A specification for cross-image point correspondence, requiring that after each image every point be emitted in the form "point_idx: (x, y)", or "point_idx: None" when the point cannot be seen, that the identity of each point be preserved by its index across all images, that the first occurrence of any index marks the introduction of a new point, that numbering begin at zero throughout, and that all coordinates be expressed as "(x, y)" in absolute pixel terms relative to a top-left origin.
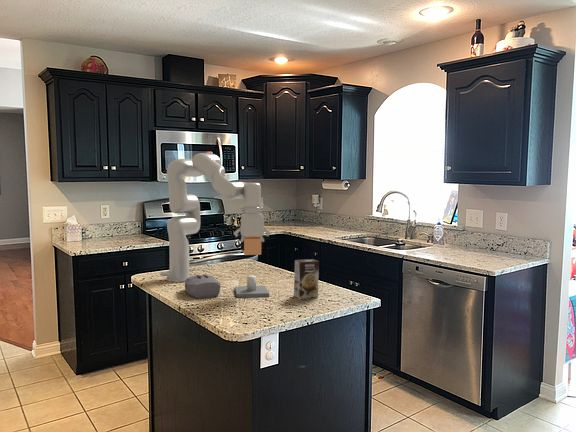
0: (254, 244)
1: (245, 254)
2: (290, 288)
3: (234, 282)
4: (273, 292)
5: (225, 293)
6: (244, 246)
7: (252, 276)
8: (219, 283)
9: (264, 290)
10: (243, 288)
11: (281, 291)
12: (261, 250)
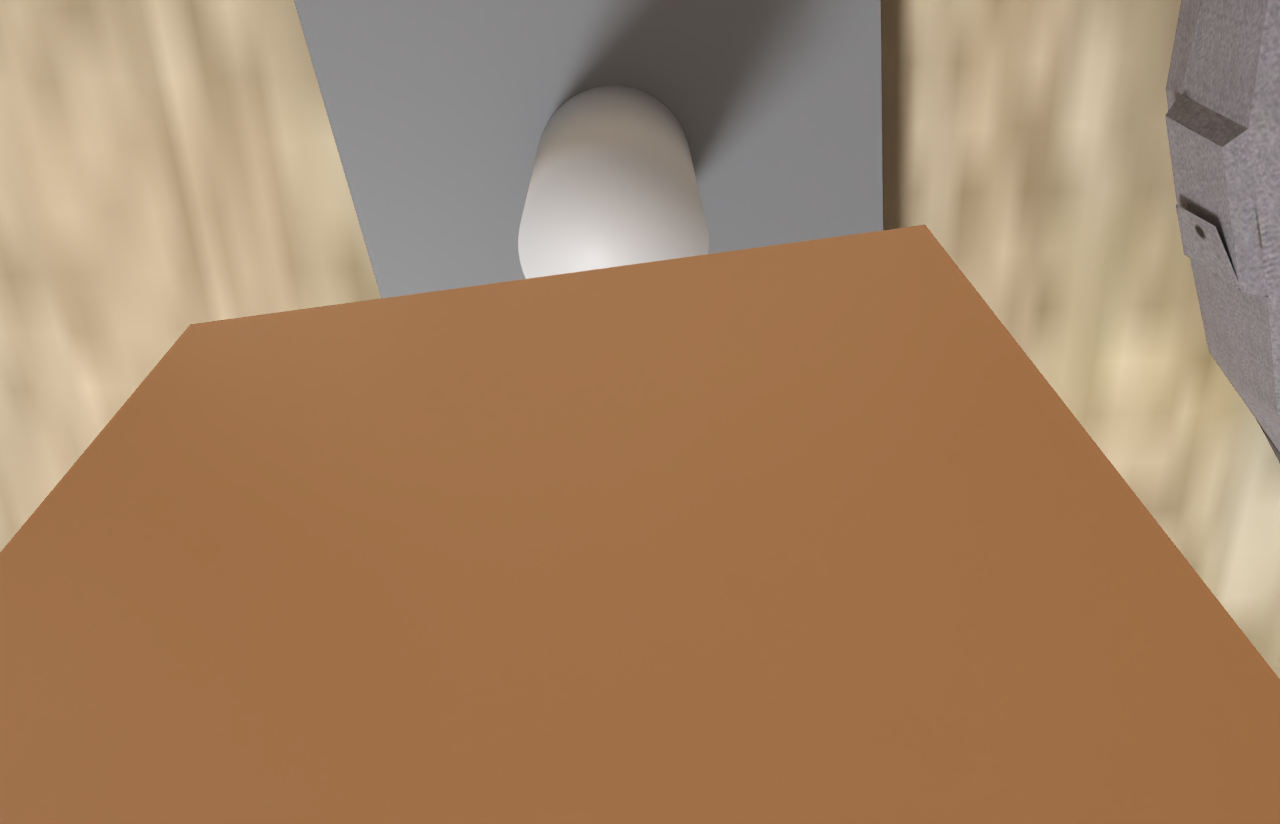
0: (399, 584)
1: (879, 238)
2: (56, 433)
3: None
4: (263, 197)
5: (1036, 115)
6: (1074, 421)
7: (597, 254)
8: (1231, 126)
9: (386, 117)
10: (751, 245)
11: (148, 261)
12: None
